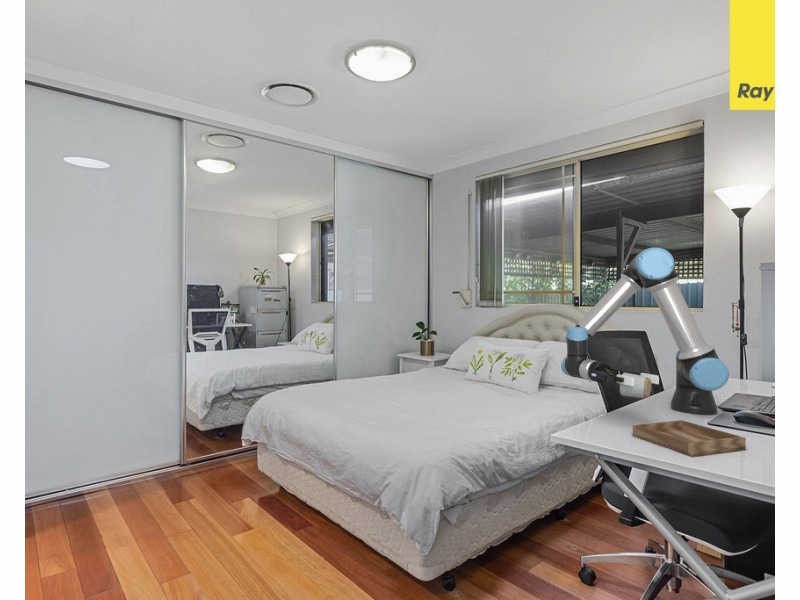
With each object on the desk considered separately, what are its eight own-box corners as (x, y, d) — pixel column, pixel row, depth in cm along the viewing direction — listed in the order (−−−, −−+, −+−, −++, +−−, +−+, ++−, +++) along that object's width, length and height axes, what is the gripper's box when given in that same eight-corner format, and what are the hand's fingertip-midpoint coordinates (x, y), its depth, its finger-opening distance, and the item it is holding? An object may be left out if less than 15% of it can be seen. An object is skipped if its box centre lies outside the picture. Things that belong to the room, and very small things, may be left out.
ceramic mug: (646, 400, 148) (646, 376, 148) (618, 397, 153) (619, 373, 153) (654, 396, 156) (654, 373, 156) (628, 393, 161) (628, 370, 161)
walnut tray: (681, 431, 149) (681, 420, 149) (745, 450, 130) (745, 437, 130) (632, 436, 143) (632, 424, 143) (692, 457, 124) (692, 444, 124)
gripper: (619, 379, 174) (671, 390, 153) (570, 383, 167) (618, 394, 146) (619, 359, 174) (671, 367, 153) (570, 362, 167) (618, 370, 146)
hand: (645, 380), depth 149 cm, fingers closed on ceramic mug, 9 cm apart
